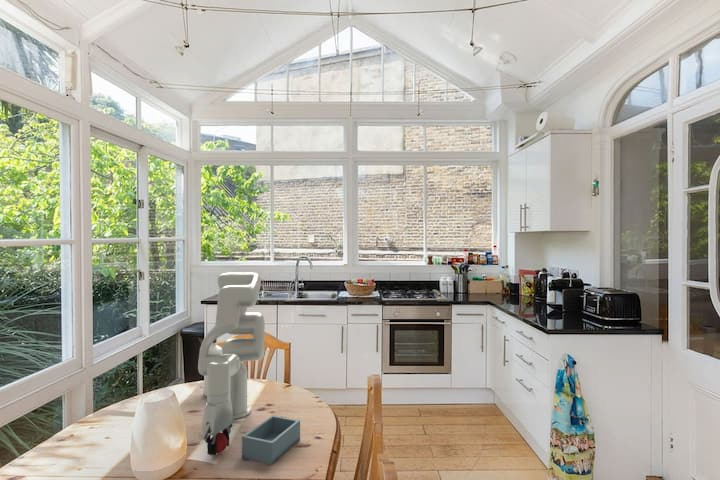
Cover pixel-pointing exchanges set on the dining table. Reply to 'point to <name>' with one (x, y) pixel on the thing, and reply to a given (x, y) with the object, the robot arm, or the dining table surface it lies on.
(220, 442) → the red round fruit
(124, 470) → the dining table surface
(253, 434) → the blue-grey open box
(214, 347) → the vodka
